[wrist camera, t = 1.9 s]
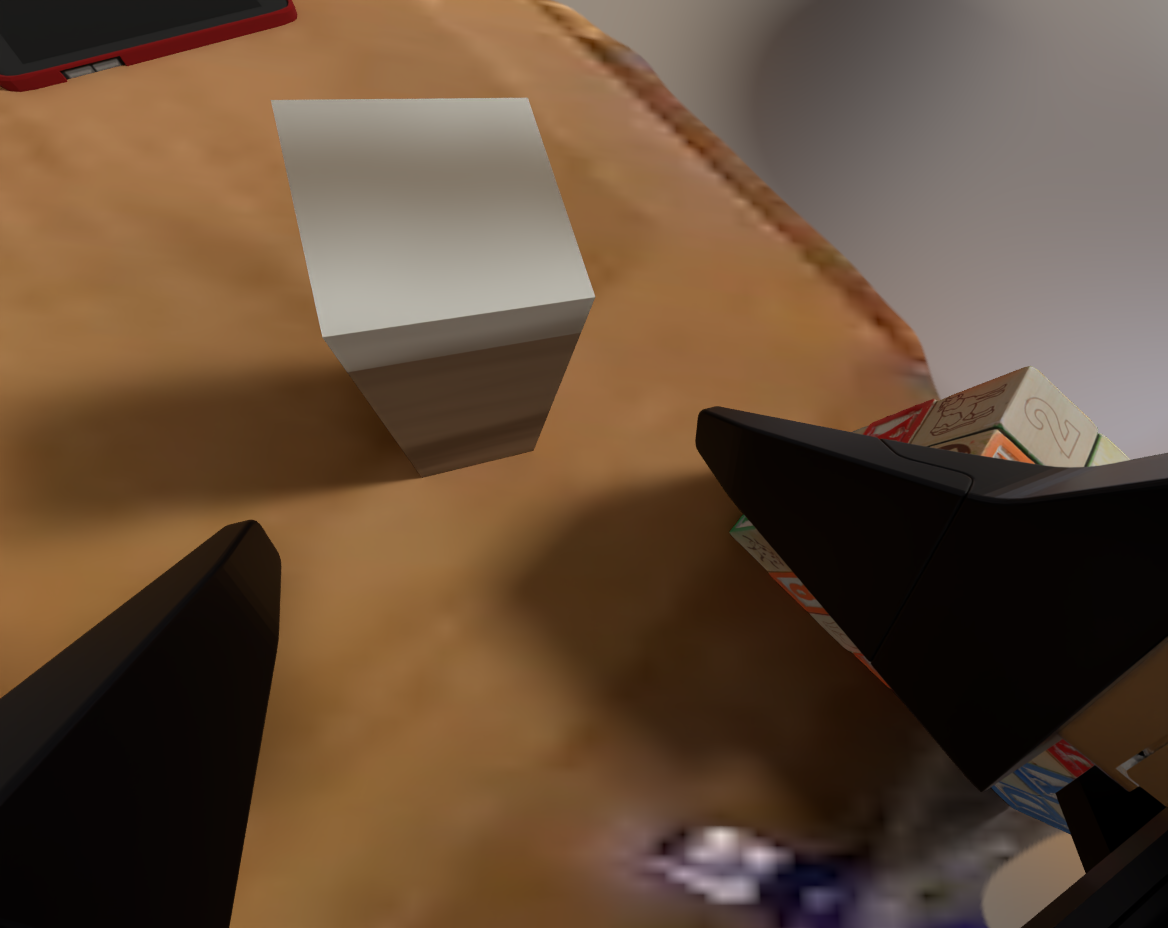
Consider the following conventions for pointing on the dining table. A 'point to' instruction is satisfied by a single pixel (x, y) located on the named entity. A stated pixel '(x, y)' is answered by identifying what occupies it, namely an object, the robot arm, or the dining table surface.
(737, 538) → the stack of blocks
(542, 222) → the silver metal block
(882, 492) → the robot arm
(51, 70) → the cell phone
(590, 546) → the dining table surface
